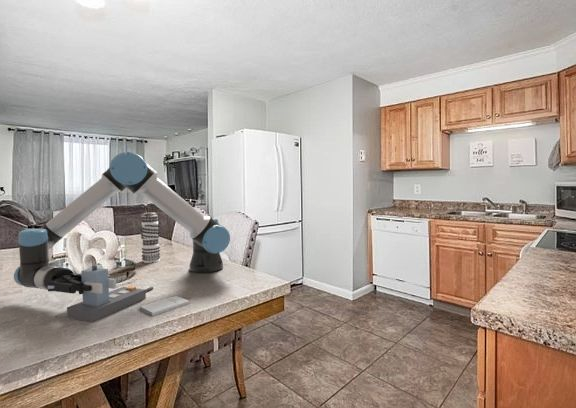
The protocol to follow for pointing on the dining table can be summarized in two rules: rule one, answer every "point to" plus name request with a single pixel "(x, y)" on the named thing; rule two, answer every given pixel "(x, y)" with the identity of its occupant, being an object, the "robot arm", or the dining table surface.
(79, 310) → the power strip
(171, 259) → the dining table surface
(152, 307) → the external hard drive
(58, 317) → the dining table surface
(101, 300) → the block
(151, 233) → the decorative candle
